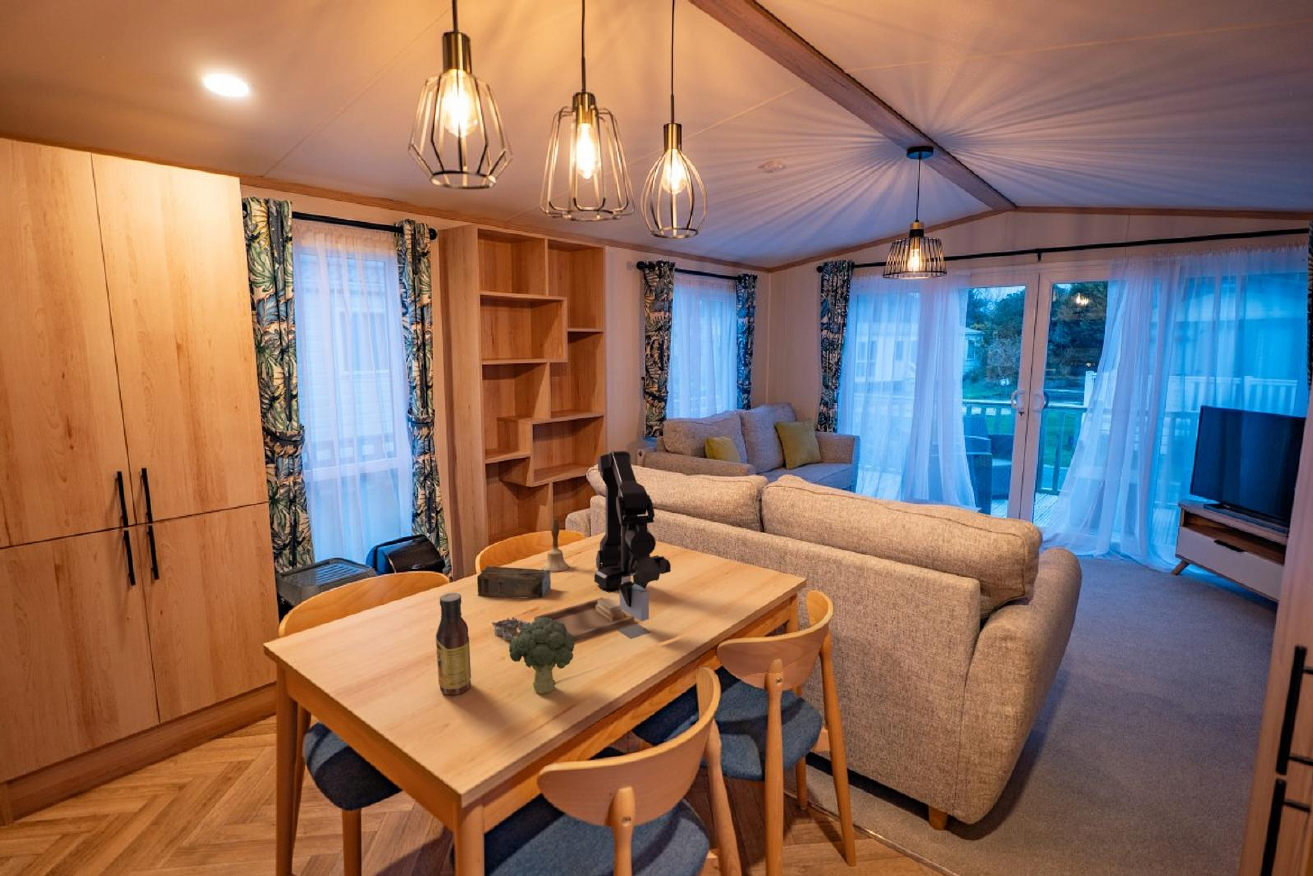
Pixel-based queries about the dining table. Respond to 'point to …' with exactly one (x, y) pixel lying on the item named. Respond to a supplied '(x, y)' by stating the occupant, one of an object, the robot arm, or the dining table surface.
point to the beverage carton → (514, 582)
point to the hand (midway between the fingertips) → (633, 605)
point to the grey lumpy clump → (508, 628)
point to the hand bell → (555, 552)
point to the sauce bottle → (453, 647)
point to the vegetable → (543, 650)
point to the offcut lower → (610, 616)
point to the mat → (633, 630)
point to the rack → (585, 620)
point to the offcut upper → (609, 605)
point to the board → (637, 603)
